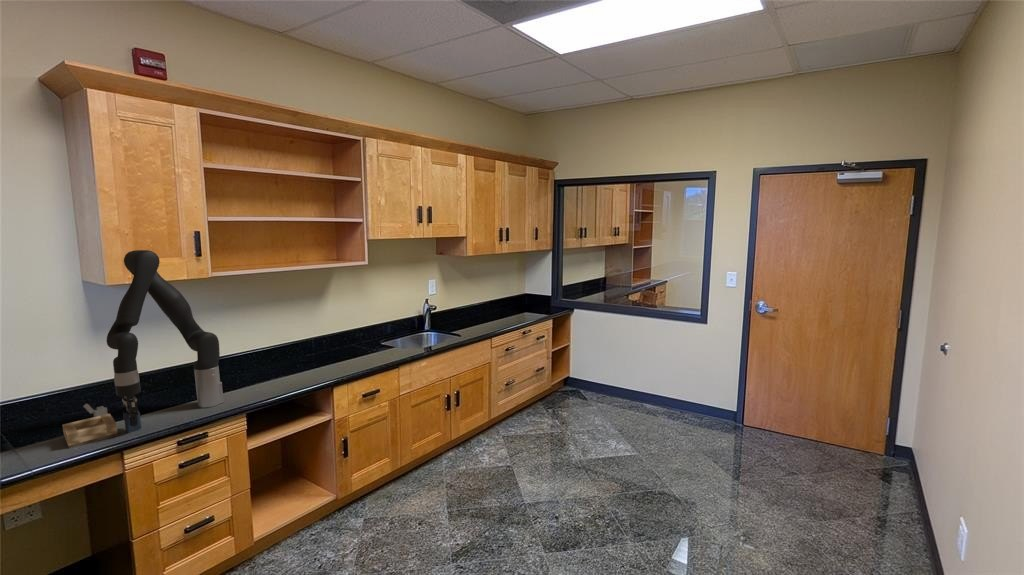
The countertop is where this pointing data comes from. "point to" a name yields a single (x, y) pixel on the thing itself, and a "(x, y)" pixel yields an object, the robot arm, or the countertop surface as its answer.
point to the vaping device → (127, 421)
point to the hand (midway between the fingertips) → (132, 423)
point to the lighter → (97, 412)
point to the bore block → (89, 430)
